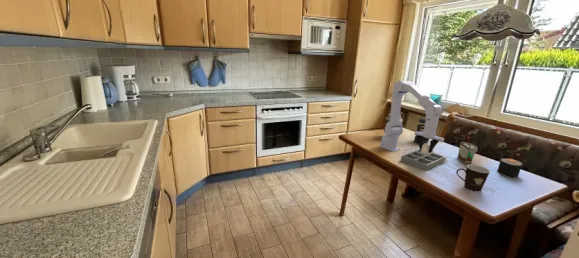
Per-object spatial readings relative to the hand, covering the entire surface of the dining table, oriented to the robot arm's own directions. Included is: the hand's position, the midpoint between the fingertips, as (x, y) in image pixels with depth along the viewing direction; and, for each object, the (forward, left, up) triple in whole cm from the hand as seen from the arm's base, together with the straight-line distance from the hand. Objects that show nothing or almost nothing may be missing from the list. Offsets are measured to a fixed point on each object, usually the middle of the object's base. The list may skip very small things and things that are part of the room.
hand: (425, 150), depth 135 cm
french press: (-21, +39, -9) cm, 45 cm away
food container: (+11, +29, -9) cm, 33 cm away
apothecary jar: (-38, +28, -9) cm, 48 cm away
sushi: (+30, +29, -9) cm, 43 cm away
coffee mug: (+24, -6, -9) cm, 27 cm away
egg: (0, 0, -2) cm, 2 cm away
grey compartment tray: (-3, +5, -8) cm, 10 cm away
